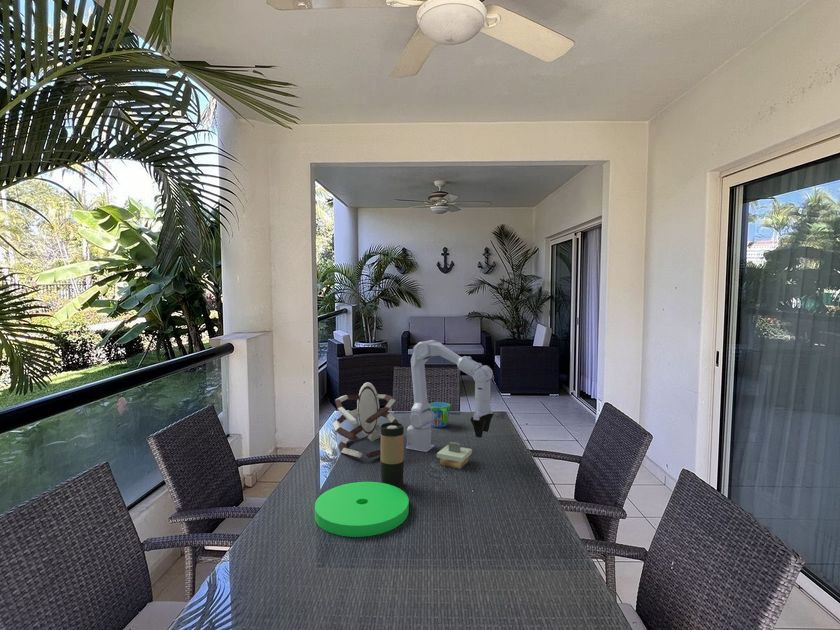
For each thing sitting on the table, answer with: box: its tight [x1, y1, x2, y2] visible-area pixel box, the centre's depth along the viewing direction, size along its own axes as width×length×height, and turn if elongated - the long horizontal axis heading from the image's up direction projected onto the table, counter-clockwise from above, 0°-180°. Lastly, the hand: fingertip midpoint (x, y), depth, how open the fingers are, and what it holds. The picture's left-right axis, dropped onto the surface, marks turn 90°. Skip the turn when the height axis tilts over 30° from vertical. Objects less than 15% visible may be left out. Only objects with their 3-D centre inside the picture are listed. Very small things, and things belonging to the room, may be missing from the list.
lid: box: [436, 441, 473, 462], centre depth 168 cm, size 10×10×5 cm
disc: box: [314, 481, 410, 538], centre depth 132 cm, size 27×27×3 cm
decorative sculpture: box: [332, 381, 400, 459], centre depth 185 cm, size 24×27×35 cm
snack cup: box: [429, 401, 452, 428], centre depth 214 cm, size 16×10×10 cm
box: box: [439, 456, 469, 470], centre depth 168 cm, size 8×8×4 cm
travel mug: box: [380, 422, 405, 489], centre depth 149 cm, size 8×8×20 cm
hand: (482, 434), depth 171 cm, fingers open, 7 cm apart
